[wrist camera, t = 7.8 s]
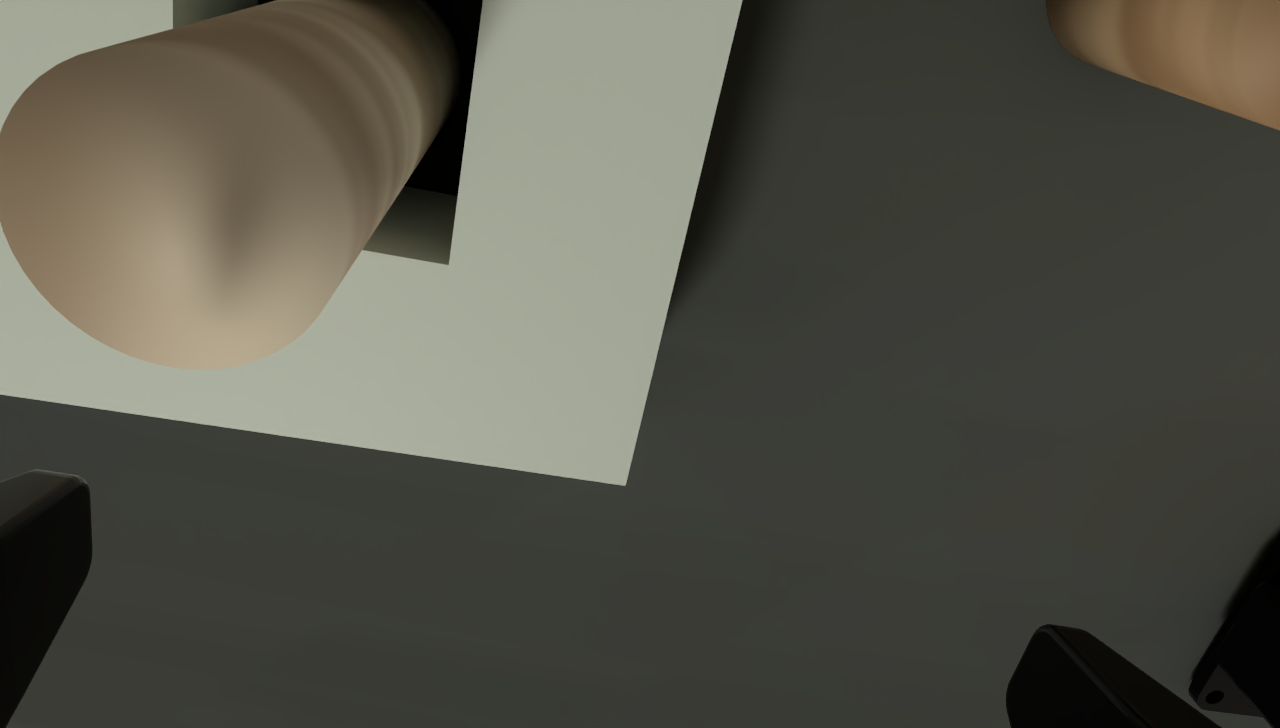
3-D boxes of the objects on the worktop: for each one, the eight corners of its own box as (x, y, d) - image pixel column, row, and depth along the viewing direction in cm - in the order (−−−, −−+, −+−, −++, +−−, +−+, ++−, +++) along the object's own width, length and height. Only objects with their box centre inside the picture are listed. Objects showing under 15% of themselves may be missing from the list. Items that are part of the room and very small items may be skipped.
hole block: (752, -210, 16) (801, -245, 13) (617, 388, 21) (625, 485, 18) (18, -401, 15) (-167, -503, 11) (60, 299, 20) (-57, 386, 16)
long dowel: (471, -1, 17) (356, 85, 8) (450, 164, 19) (331, 392, 10) (296, -39, 17) (-23, 9, 8) (287, 133, 18) (6, 342, 9)
